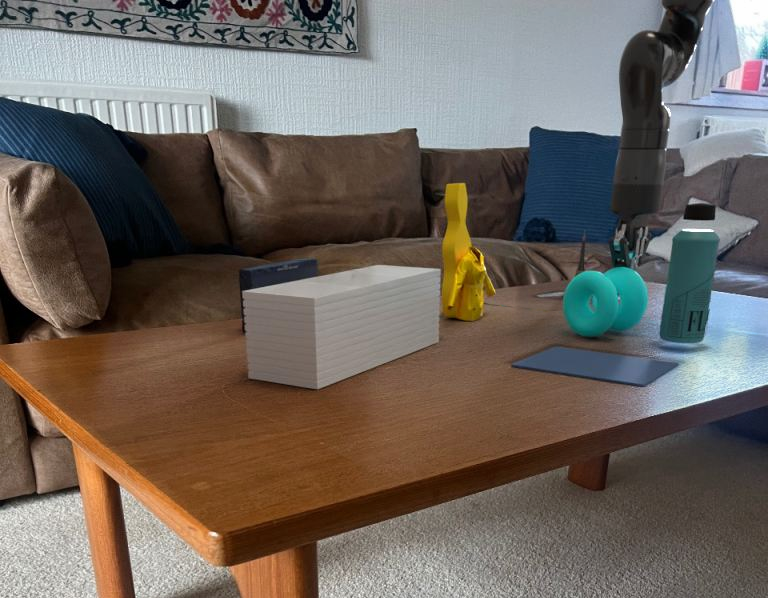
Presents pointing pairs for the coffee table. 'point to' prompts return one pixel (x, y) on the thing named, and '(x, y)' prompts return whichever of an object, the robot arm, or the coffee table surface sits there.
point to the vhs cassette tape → (275, 276)
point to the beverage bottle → (690, 279)
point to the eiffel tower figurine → (578, 271)
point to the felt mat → (597, 366)
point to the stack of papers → (339, 323)
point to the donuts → (605, 301)
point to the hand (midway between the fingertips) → (623, 295)
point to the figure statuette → (462, 262)
